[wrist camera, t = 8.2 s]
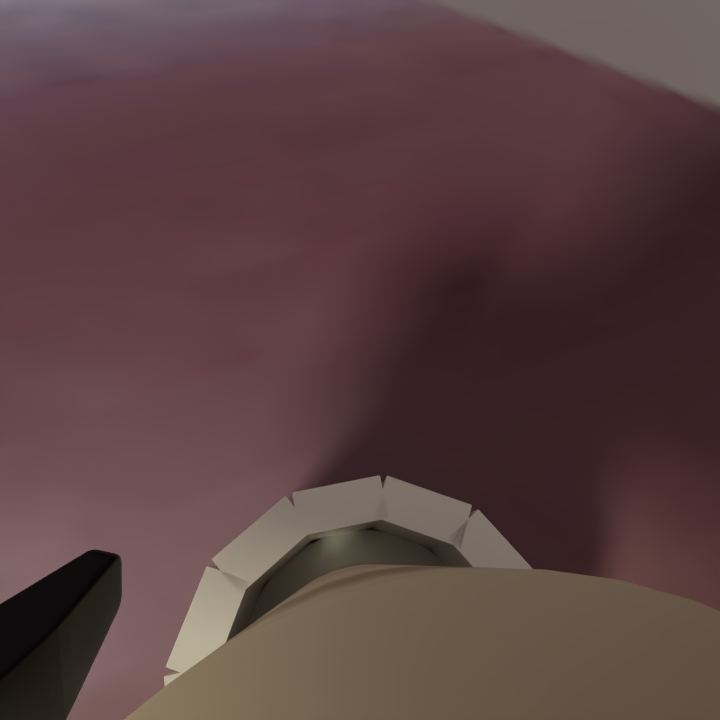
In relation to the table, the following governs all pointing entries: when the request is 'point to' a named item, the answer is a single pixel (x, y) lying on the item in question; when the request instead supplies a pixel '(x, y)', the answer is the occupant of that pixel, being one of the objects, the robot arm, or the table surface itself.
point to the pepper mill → (459, 651)
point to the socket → (331, 552)
